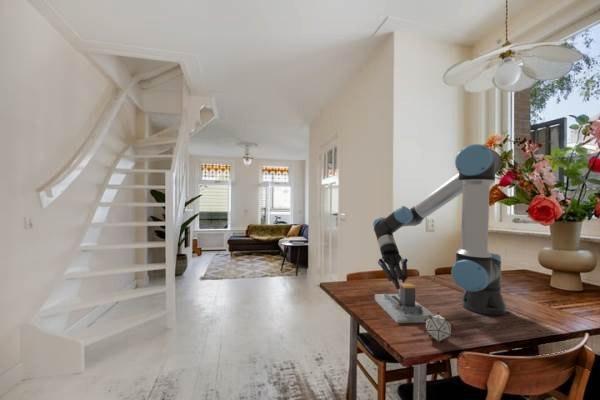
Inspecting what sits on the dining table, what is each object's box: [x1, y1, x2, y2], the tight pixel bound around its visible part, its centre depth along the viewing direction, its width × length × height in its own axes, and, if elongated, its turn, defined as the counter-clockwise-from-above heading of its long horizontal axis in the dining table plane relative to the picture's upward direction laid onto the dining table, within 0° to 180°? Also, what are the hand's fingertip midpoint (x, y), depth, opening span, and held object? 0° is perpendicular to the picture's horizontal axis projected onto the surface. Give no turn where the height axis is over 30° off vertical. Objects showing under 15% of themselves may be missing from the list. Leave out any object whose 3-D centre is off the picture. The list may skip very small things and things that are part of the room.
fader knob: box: [399, 282, 416, 306], centre depth 107 cm, size 5×5×9 cm
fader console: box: [374, 292, 435, 324], centre depth 112 cm, size 24×14×4 cm, turn 4°
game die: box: [423, 311, 455, 345], centre depth 87 cm, size 9×8×10 cm
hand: (403, 296), depth 111 cm, fingers closed
